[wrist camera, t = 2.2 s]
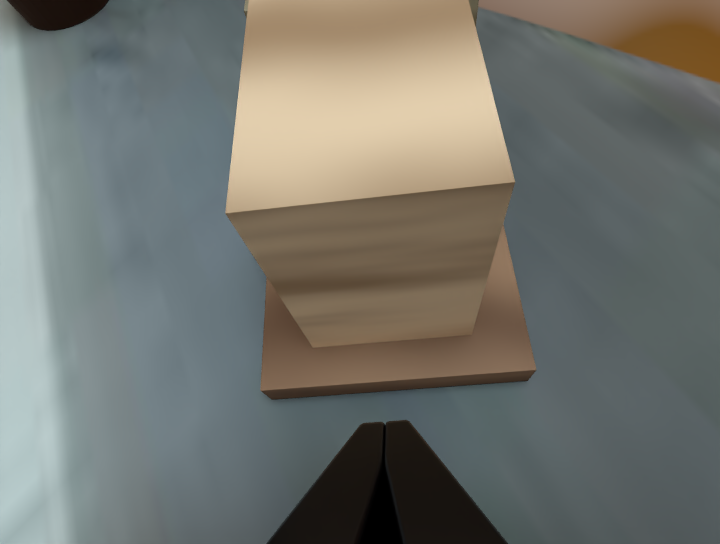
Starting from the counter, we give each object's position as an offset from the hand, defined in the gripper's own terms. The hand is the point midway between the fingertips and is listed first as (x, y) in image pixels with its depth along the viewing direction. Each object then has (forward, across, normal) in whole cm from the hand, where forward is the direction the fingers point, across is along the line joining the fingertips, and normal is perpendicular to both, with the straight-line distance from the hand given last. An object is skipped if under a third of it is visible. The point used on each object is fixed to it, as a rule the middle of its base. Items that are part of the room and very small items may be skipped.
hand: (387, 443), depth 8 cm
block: (+12, 0, -1) cm, 13 cm away
